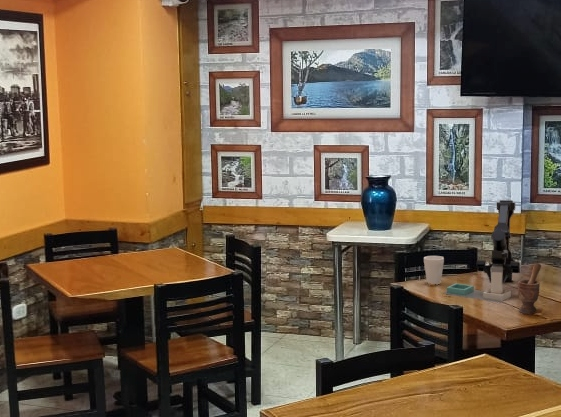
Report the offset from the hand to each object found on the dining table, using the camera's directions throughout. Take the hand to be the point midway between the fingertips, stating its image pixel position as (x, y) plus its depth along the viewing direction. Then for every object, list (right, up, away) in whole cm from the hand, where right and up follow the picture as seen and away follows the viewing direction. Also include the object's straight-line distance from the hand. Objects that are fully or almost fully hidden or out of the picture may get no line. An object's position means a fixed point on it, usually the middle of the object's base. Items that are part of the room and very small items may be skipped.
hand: (496, 282), depth 358 cm
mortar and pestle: (+9, -11, -17) cm, 22 cm away
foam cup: (-21, -4, +33) cm, 40 cm away
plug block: (+1, -7, +2) cm, 7 cm away
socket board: (-6, -7, +8) cm, 12 cm away
